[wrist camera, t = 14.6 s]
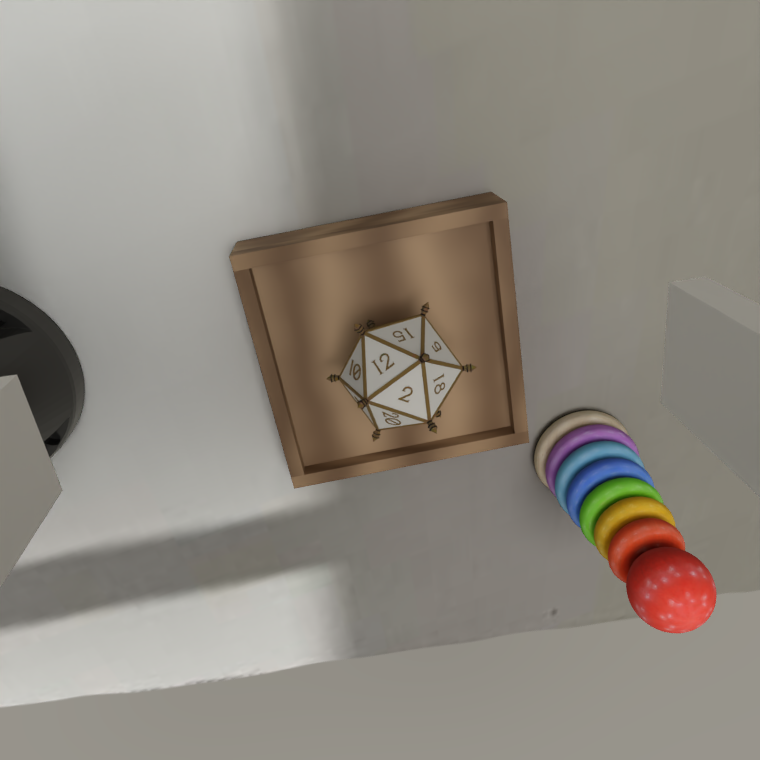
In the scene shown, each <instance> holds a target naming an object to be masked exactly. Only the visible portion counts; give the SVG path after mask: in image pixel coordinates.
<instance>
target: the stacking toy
mask: <svg viewBox="0 0 760 760" xmlns="http://www.w3.org/2000/svg"><path fill="white" fill-rule="evenodd" d="M534 464H535V469H536V472H537V474H538V476H539V478H540V480H541V481H542V482H543V484H544V485H545V486H546V487H548V488H549V489H550V490H551V492H552V493H553V494H554V495H555V497H556V498H557V500H558V502H559V504H560V506H561V507H562V508H563V509H564V511H565V512H566V513H568V514H569V515H570V517H571V519H572V520H573V521H574V523H575V524H576V525H577V526H579V527H580V528H581V530H582V532H583V534H584V535H585V537H586V538H587V540H588V541H589V542H591V543H592V544H593V545H594V546H596V547H597V549H598V551H599V552H600V554H601V555H602V556H603V557H604V558H605V559H607V560H608V561H609V565H610V568H611V570H612V571H613V573H614V574H615V575H616V576H617V577H618V578H619V579H620V580H621V581H623V582H625V583H626V588H627V594H628V598H629V601H630V603H631V605H632V607H633V609H634V611H635V612H636V613H637V615H638V616H639V617H640V618H641V619H642V620H643V621H645V622H646V623H647V624H649V625H650V626H652V627H654V628H656V629H658V630H661V631H664V632H669V633H684V632H688V631H692V630H694V629H696V628H698V627H699V626H701V625H702V624H704V623H705V622H706V621H707V619H708V618H709V617H710V615H711V614H712V612H713V610H714V607H715V603H716V587H715V583H714V580H713V578H712V576H711V574H710V572H709V570H708V569H707V568H706V567H705V565H704V564H703V563H702V562H701V561H700V560H699V559H698V558H696V557H695V556H693V555H692V554H690V553H688V552H686V551H685V542H684V540H683V537H682V535H681V534H680V532H679V531H678V530H677V528H675V521H674V518H673V516H672V514H671V512H670V511H669V509H668V508H667V507H666V506H665V505H664V504H663V500H662V498H661V496H660V494H659V493H658V492H657V490H656V489H655V488H654V484H653V481H652V479H651V477H650V475H649V474H648V473H647V471H646V470H645V468H644V465H643V463H642V461H641V459H640V458H639V452H638V449H637V447H636V445H635V443H634V442H633V440H632V439H631V438H630V437H629V435H628V433H627V431H626V429H625V428H624V426H623V425H622V424H621V423H620V422H619V421H618V420H617V419H615V418H614V417H612V416H610V415H608V414H606V413H603V412H599V411H579V412H575V413H571V414H569V415H566V416H564V417H562V418H560V419H559V420H557V421H556V422H554V423H553V424H552V425H551V426H550V427H549V428H548V429H547V430H546V431H545V432H544V433H543V435H542V436H541V438H540V439H539V441H538V444H537V446H536V450H535V455H534Z"/></svg>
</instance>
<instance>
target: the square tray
mask: <svg viewBox="0 0 760 760" xmlns="http://www.w3.org/2000/svg"><path fill="white" fill-rule="evenodd" d="M229 258H230V261H231V265H232V268H233V272H234V275H235V279H236V283H237V286H238V290H239V293H240V297H241V300H242V304H243V308H244V311H245V315H246V318H247V322H248V325H249V329H250V332H251V336H252V340H253V343H254V347H255V350H256V354H257V357H258V361H259V365H260V368H261V372H262V375H263V379H264V382H265V386H266V390H267V393H268V397H269V400H270V404H271V407H272V411H273V414H274V418H275V422H276V425H277V429H278V432H279V436H280V439H281V443H282V447H283V450H284V454H285V457H286V461H287V464H288V468H289V471H290V475H291V479H292V482H293V486H294V488H299V487H305V486H310V485H315V484H320V483H325V482H330V481H335V480H340V479H345V478H350V477H355V476H361V475H366V474H371V473H376V472H381V471H386V470H391V469H396V468H401V467H406V466H411V465H417V464H422V463H427V462H432V461H437V460H442V459H447V458H452V457H457V456H462V455H467V454H473V453H478V452H483V451H488V450H493V449H498V448H503V447H508V446H513V445H518V444H523V443H529V436H528V425H527V414H526V403H525V393H524V382H523V371H522V360H521V349H520V338H519V327H518V317H517V306H516V295H515V284H514V273H513V262H512V251H511V241H510V230H509V219H508V208H507V202H506V201H505V200H503V199H501V198H500V197H498V196H497V195H495V194H494V193H492V192H488V193H483V194H478V195H473V196H468V197H463V198H458V199H453V200H448V201H442V202H437V203H432V204H427V205H422V206H417V207H412V208H407V209H402V210H397V211H392V212H386V213H381V214H376V215H371V216H366V217H361V218H356V219H351V220H346V221H341V222H335V223H330V224H325V225H320V226H315V227H310V228H305V229H300V230H295V231H290V232H285V233H279V234H274V235H269V236H264V237H259V238H254V239H249V240H244V241H239V242H237V243H236V245H235V246H234V248H233V250H232V252H231V254H230V256H229ZM427 302H429V308H430V309H429V310H428V313H427V314H426V315H425V316H426V318H427V319H428V320H429V322H430V323H431V324H432V326H433V327H434V328H435V330H436V331H437V332H438V334H439V335H440V336H441V338H442V339H443V340H444V342H445V343H446V344H447V346H448V347H449V348H450V350H451V351H452V352H453V354H454V355H455V356H456V358H457V359H458V360H459V362H460V363H461V364H462V366H465V365H466V364H467V365H469V364H471V365H474V366H476V367H477V368H475V369H474V370H473V371H472V372H467V371H463V372H462V373H461V375H460V377H459V378H458V380H457V382H456V383H455V385H454V386H453V388H452V390H451V391H450V393H449V395H448V396H447V398H446V399H445V401H444V403H443V404H442V406H441V408H440V409H439V411H441V417H434V419H433V421H432V422H433V423H434V422H435V425H437V434H436V433H434V432H432V431H429V430H430V429H429V428H428V424H422V425H415V426H408V427H401V428H394V429H387V430H381V431H380V434H381V435H380V436H379V438H378V439H377V440H375V441H374V442H373V438H372V434H373V432H374V431H375V430H376V428H375V427H374V426H373V424H372V423H371V422H370V420H369V419H368V418H367V416H366V415H365V414H364V412H363V411H362V410H361V408H357V407H358V404H357V403H356V402H355V400H354V399H353V398H352V396H351V395H350V394H349V392H348V391H347V390H346V388H345V387H344V386H343V384H342V383H341V382H340V380H338V381H336V382H335V381H334V382H332V383H331V381H329V380H327V378H328V377H329V376H330V375H331V374H332V375H334V374H336V375H340V373H341V371H342V369H343V367H344V365H345V363H346V361H347V359H348V357H349V356H350V354H351V352H352V350H353V348H354V346H355V344H356V342H357V340H358V338H359V336H360V334H359V333H357V332H356V331H354V330H355V327H354V323H356V324H361V325H362V327H363V328H364V331H365V330H367V329H369V327H368V326H367V321H368V320H372V321H374V323H375V327H376V326H379V325H383V324H386V323H390V322H394V321H397V320H401V319H404V318H408V317H412V316H415V315H419V314H421V309H422V306H423V305H424V304H426V303H427Z"/></svg>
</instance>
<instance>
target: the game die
mask: <svg viewBox="0 0 760 760" xmlns="http://www.w3.org/2000/svg"><path fill="white" fill-rule="evenodd" d="M429 309H430V308H429V302H427V303H426V304H424V305H423V306H422V309H421V314H419V315H415V316H412V317H408V318H404V319H401V320H397V321H394V322H390V323H386V324H383V325H379V326H376V327H375V323H374V321H372V320H368V321H367V326H368V327H369V329H367V330H365V331H364V328H363V327H362V325H361V324H356V323H354V327H355V330H354V331H356V332H357V333H359V334H360V336H359V338H358V340H357V342H356V344H355V346H354V348H353V350H352V352H351V354H350V356H349V357H348V359H347V361H346V363H345V365H344V367H343V369H342V371H341V373H340V375H336V374H334V375H332V374H331V375H330V376H329V377H328V378H327V380H329V381H331V383H332V382H334V381H335V382H336V381H338V380H340V382H341V383H342V384H343V386H344V387H345V388H346V390H347V391H348V392H349V394H350V395H351V396H352V398H353V399H354V400H355V402H356V403H357V404H358V407H357V408H361V410H362V411H363V412H364V414H365V415H366V416H367V418H368V419H369V420H370V422H371V423H372V424H373V426H374V427H375V428H376V430H375V431H374V432H373V434H372V438H373V442H374V441H375V440H377V439H378V438H379V436H380V435H381V434H380V431H381V430H387V429H394V428H401V427H408V426H415V425H422V424H428V428H429V429H430V430H429V431H432V432H434V433H436V434H437V425H435V422H434V423H433V422H432V421H433V419H434V417H441V411H439V409H440V408H441V406H442V404H443V403H444V401H445V399H446V398H447V396H448V395H449V393H450V391H451V390H452V388H453V386H454V385H455V383H456V382H457V380H458V378H459V377H460V375H461V373H462V372H463V371H467V372H472V371H473V370H474V369H475V368H477V367H476V366H474V365H471V364H469V365H467V364H466V365H465V366H462V364H461V363H460V362H459V360H458V359H457V358H456V356H455V355H454V354H453V352H452V351H451V350H450V348H449V347H448V346H447V344H446V343H445V342H444V340H443V339H442V338H441V336H440V335H439V334H438V332H437V331H436V330H435V328H434V327H433V326H432V324H431V323H430V322H429V320H428V319H427V318H426V316H425V315H426V314H427V313H428V310H429Z"/></svg>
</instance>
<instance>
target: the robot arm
mask: <svg viewBox="0 0 760 760" xmlns="http://www.w3.org/2000/svg"><path fill="white" fill-rule="evenodd" d="M83 403H84V379H83V374H82V370H81V366H80V363H79V361H78V358H77V356H76V354H75V351H74V350H73V348H72V346H71V344H70V343H69V341H68V339H67V338H66V336H65V335H64V334H63V332H62V331H61V330H60V329H59V328H58V326H57V325H56V324H55V323H54V322H53V321H52V320H51V319H50V318H49V317H48V316H47V315H46V314H45V313H43V312H42V311H41V310H40V309H38V308H37V307H36V306H34V305H33V304H32V303H30V302H29V301H27V300H25V299H24V298H22V297H20V296H19V295H17V294H15V293H13V292H11V291H9V290H6V289H4V288H1V287H0V588H1V586H2V585H3V583H4V581H5V580H6V578H7V577H8V575H9V574H10V572H11V570H12V569H13V567H14V566H15V564H16V563H17V561H18V559H19V558H20V556H21V555H22V553H23V551H24V550H25V548H26V547H27V545H28V544H29V542H30V540H31V539H32V537H33V536H34V534H35V533H36V531H37V529H38V528H39V526H40V525H41V523H42V522H43V520H44V518H45V517H46V515H47V514H48V512H49V510H50V509H51V507H52V506H53V504H54V503H55V501H56V499H57V498H58V496H59V495H60V493H61V492H62V488H61V485H60V483H59V480H58V478H57V475H56V473H55V470H54V468H53V465H52V463H51V460H50V458H51V457H52V456H53V455H54V454H55V453H56V452H57V451H58V450H59V449H60V448H61V447H62V445H63V444H64V442H65V441H66V440H67V438H68V437H69V435H70V434H71V433H72V431H73V430H74V428H75V426H76V425H77V422H78V420H79V418H80V415H81V412H82V408H83ZM661 404H662V405H663V406H665V407H666V408H667V409H668V410H669V411H670V412H671V413H672V414H673V415H674V416H675V417H676V418H677V419H678V420H679V421H680V422H681V423H682V424H683V425H684V426H685V427H687V428H688V429H689V430H690V431H691V432H692V433H693V434H694V435H695V436H696V437H697V438H698V439H699V440H700V441H701V442H702V443H703V444H704V445H705V446H706V447H708V448H709V449H710V450H711V451H712V452H713V453H714V454H715V455H716V456H717V457H718V458H719V459H720V460H721V461H722V462H723V463H724V464H725V465H726V466H727V467H729V468H730V469H731V470H732V471H733V472H734V473H735V474H736V475H737V476H738V477H739V478H740V479H741V480H742V481H743V482H744V483H745V484H746V485H747V486H748V487H749V488H751V489H752V490H753V491H754V492H755V493H756V494H757V495H758V496H759V497H760V304H759V303H757V302H755V301H753V300H751V299H749V298H747V297H745V296H743V295H741V294H739V293H737V292H735V291H733V290H731V289H729V288H727V287H725V286H723V285H721V284H719V283H718V282H716V281H714V280H712V279H710V278H708V277H700V278H693V279H686V280H679V281H672V282H669V287H668V302H667V316H666V331H665V346H664V360H663V375H662V389H661Z"/></svg>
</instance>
